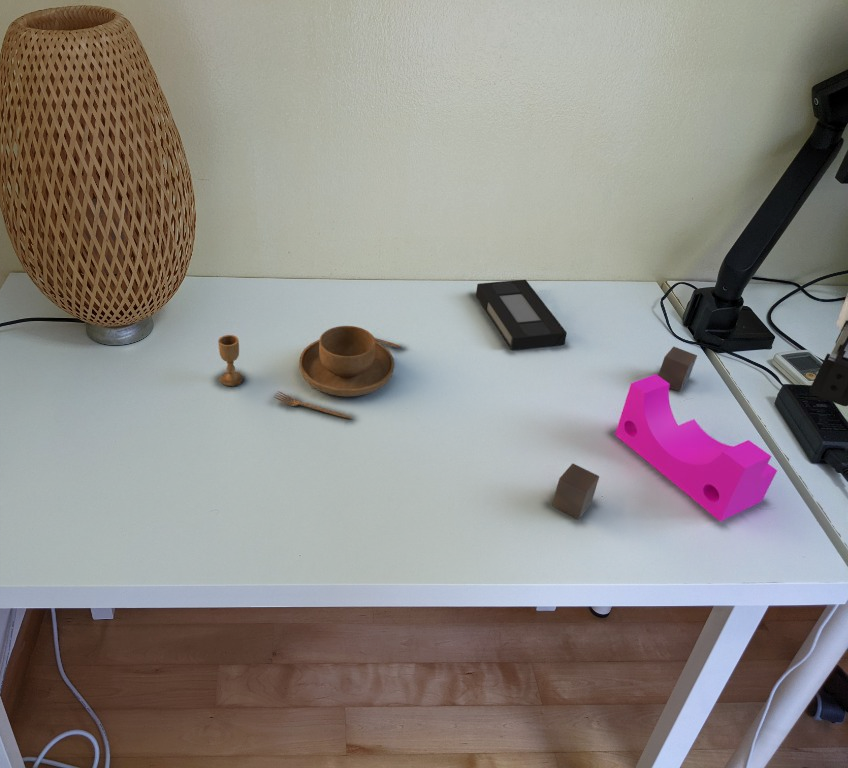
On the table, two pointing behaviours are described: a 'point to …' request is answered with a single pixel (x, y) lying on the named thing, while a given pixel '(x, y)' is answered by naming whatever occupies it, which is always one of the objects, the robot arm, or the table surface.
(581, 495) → the brown cubes
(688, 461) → the toy block
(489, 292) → the vhs tape
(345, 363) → the place setting
